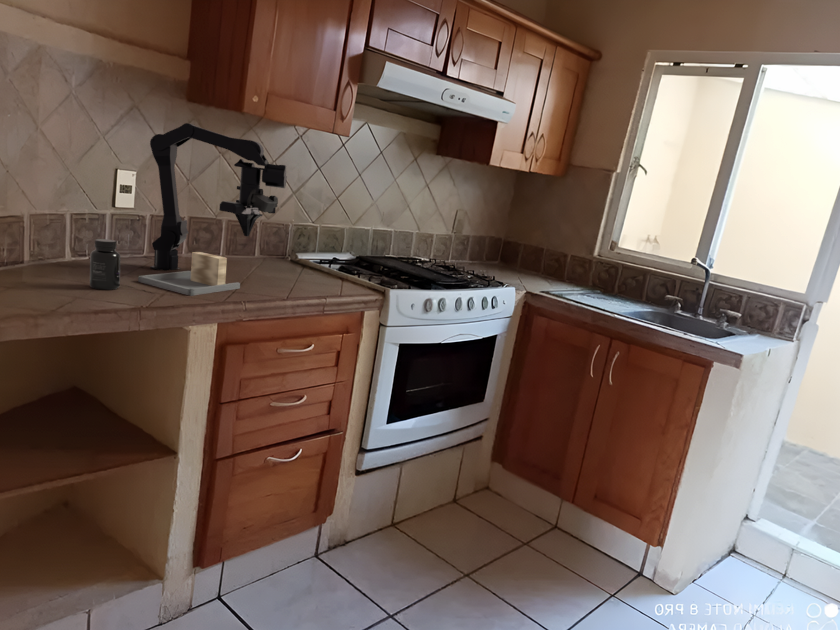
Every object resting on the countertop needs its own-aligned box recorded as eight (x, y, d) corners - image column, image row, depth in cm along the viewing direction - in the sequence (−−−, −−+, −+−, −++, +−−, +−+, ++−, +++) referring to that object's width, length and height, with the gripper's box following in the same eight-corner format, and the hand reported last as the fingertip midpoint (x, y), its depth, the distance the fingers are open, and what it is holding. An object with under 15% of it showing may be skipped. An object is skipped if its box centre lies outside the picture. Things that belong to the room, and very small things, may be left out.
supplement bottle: (125, 289, 158) (126, 242, 156) (99, 291, 153) (100, 243, 150) (109, 283, 162) (110, 237, 159) (83, 285, 156) (84, 238, 153)
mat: (138, 283, 166) (138, 276, 166) (189, 277, 182) (190, 270, 182) (190, 297, 158) (191, 290, 158) (239, 290, 174) (240, 283, 174)
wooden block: (190, 280, 176) (192, 252, 174) (198, 279, 178) (200, 251, 177) (217, 287, 172) (219, 258, 170) (225, 286, 174) (226, 258, 173)
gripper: (249, 186, 173) (246, 241, 177) (291, 188, 190) (287, 239, 193) (219, 181, 178) (216, 235, 181) (262, 184, 194) (259, 233, 198)
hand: (246, 236), depth 188 cm, fingers closed
